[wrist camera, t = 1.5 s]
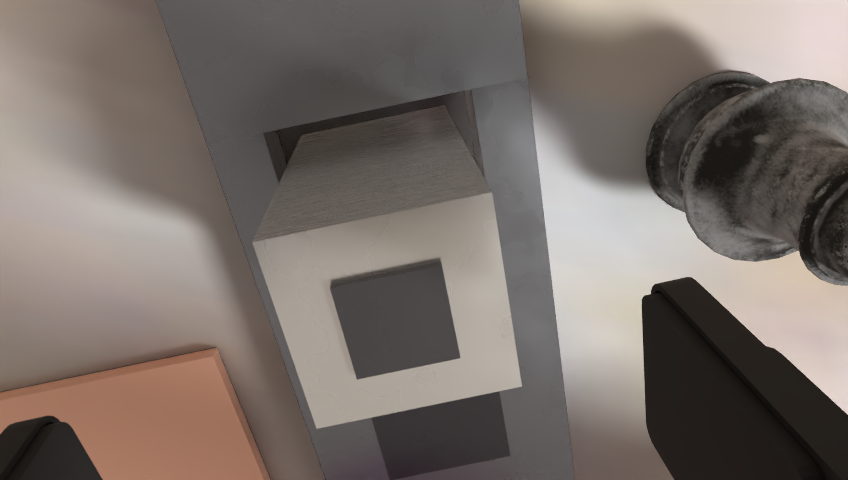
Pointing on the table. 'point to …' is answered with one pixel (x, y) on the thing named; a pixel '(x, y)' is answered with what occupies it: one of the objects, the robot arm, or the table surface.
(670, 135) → the dark stone finial
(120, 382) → the tile
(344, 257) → the grey tall block
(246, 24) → the gray compartment tray
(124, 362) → the table surface
